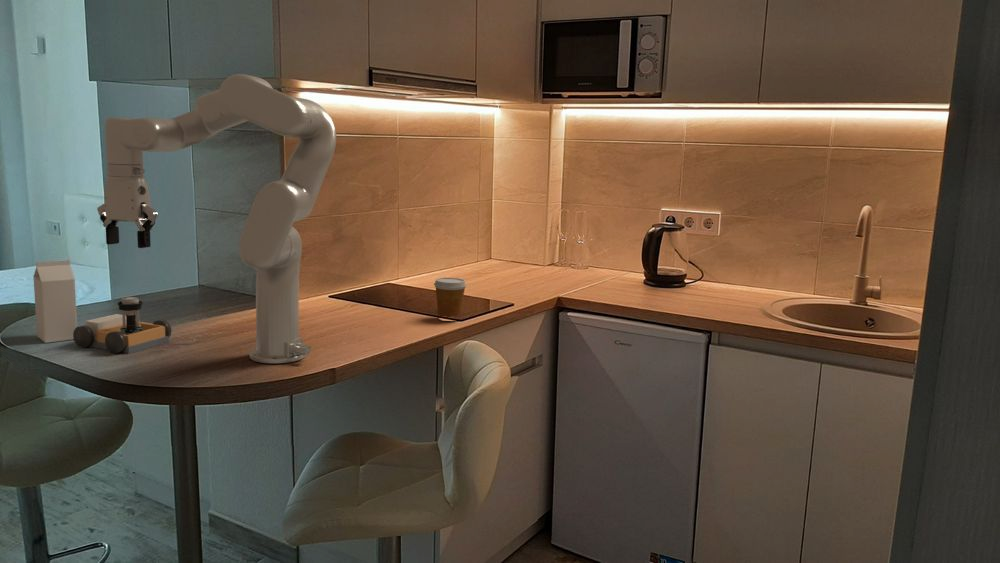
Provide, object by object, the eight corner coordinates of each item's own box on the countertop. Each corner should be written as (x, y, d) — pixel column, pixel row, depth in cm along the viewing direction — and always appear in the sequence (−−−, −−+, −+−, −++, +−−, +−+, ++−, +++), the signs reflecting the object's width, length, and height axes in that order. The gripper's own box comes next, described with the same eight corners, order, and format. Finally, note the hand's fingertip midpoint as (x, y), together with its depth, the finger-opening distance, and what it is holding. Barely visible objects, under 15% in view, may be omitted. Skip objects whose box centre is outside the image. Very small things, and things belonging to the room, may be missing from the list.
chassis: (173, 340, 185) (172, 319, 184) (123, 355, 172) (122, 331, 171) (124, 332, 191) (123, 311, 190) (72, 345, 177) (70, 322, 176)
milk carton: (77, 339, 183) (74, 262, 179) (44, 343, 178) (40, 264, 174) (69, 333, 188) (65, 258, 184) (36, 337, 183) (32, 260, 179)
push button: (149, 335, 184) (148, 295, 182) (150, 340, 179) (149, 299, 177) (119, 337, 181) (117, 296, 179) (119, 342, 176) (117, 301, 174)
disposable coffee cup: (440, 314, 229) (441, 276, 227) (469, 318, 226) (471, 279, 224) (427, 321, 220) (429, 281, 218) (458, 325, 217) (459, 284, 215)
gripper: (166, 174, 174) (169, 247, 177) (110, 170, 180) (114, 241, 183) (141, 174, 167) (143, 250, 170) (83, 170, 173) (87, 244, 176)
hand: (128, 245), depth 176 cm, fingers open, 9 cm apart
